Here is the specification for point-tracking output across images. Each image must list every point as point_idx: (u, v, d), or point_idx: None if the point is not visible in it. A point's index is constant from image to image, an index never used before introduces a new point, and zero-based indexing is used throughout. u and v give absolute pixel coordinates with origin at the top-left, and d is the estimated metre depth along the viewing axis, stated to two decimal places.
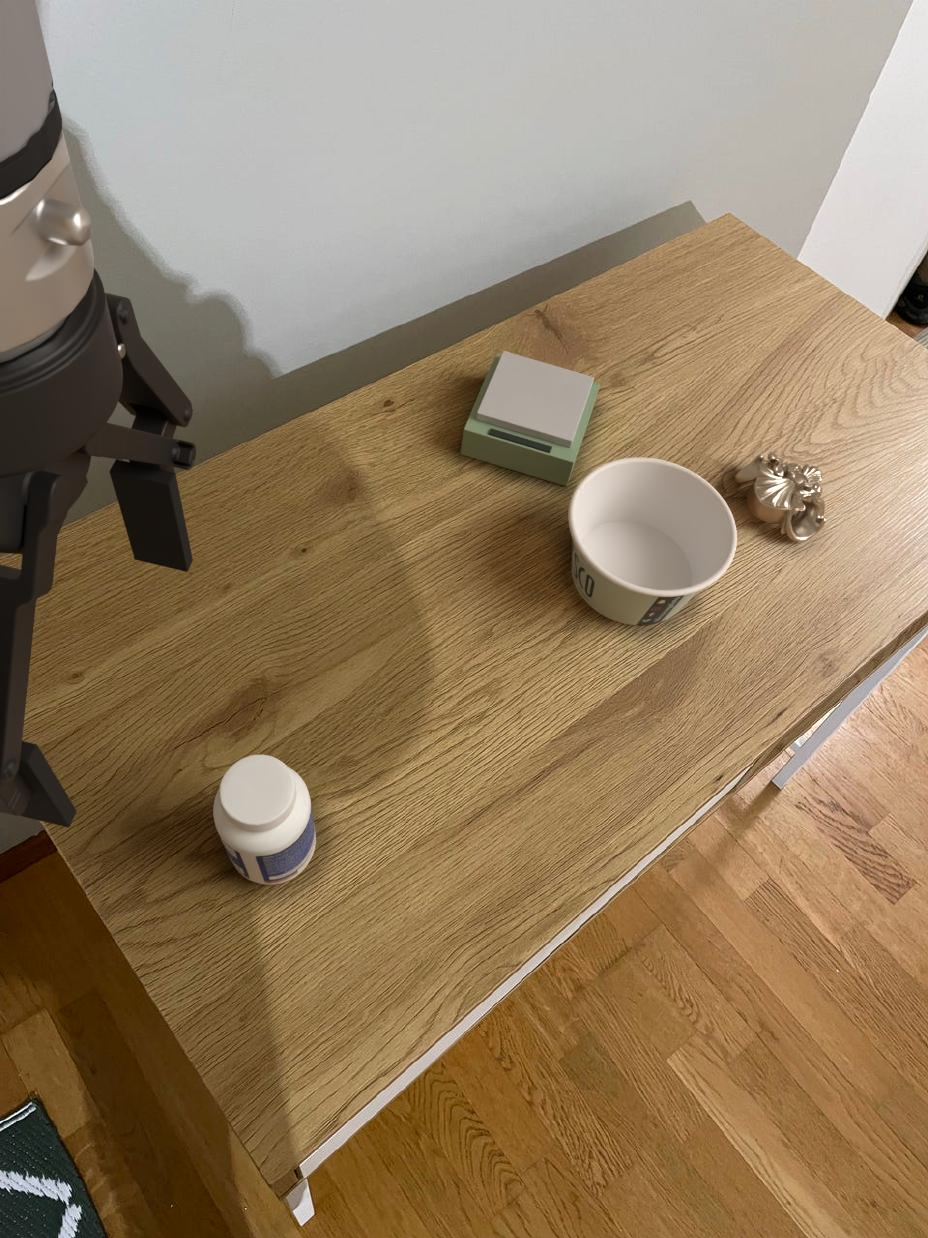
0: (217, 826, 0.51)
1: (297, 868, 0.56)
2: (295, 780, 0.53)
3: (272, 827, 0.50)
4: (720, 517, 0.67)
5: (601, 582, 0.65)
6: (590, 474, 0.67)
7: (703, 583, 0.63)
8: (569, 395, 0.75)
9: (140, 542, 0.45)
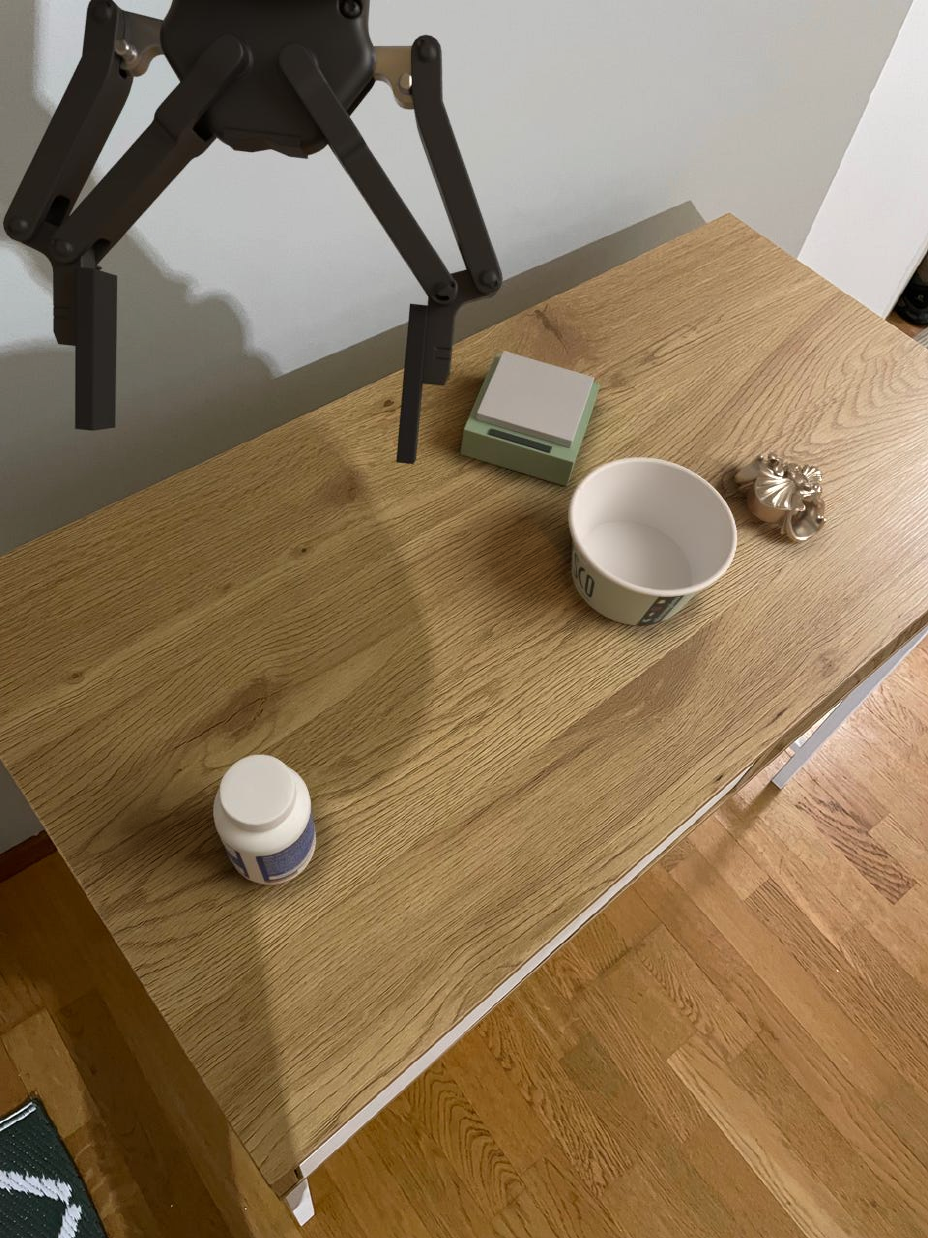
0: (217, 826, 0.51)
1: (297, 868, 0.56)
2: (295, 780, 0.53)
3: (272, 827, 0.50)
4: (720, 517, 0.67)
5: (601, 582, 0.65)
6: (590, 474, 0.67)
7: (703, 583, 0.63)
8: (569, 395, 0.75)
9: (98, 391, 0.40)
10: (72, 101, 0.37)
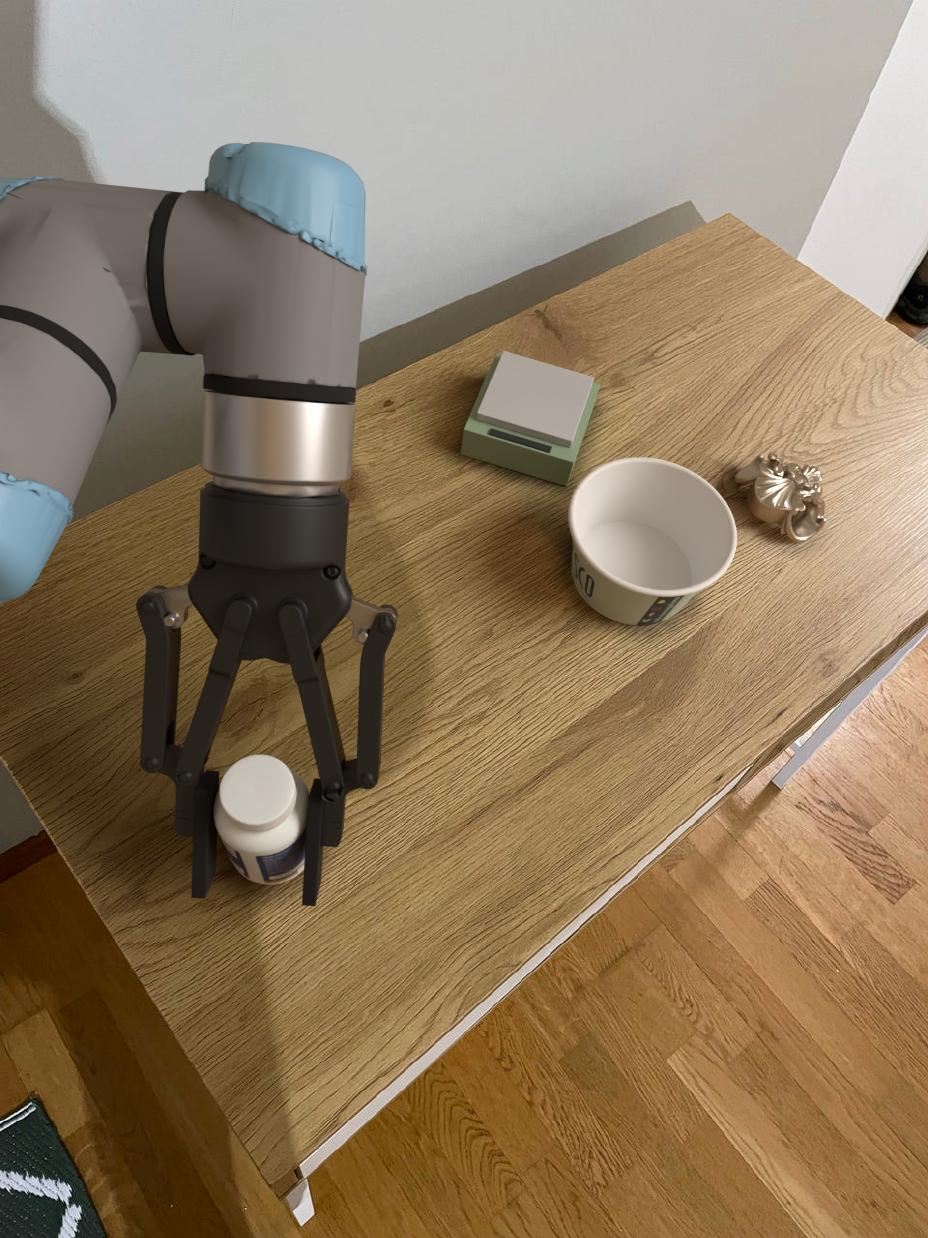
0: (217, 826, 0.51)
1: (297, 868, 0.56)
2: (295, 780, 0.53)
3: (272, 827, 0.50)
4: (720, 517, 0.67)
5: (601, 582, 0.65)
6: (590, 474, 0.67)
7: (703, 583, 0.63)
8: (569, 395, 0.75)
9: (208, 867, 0.52)
10: (152, 670, 0.49)
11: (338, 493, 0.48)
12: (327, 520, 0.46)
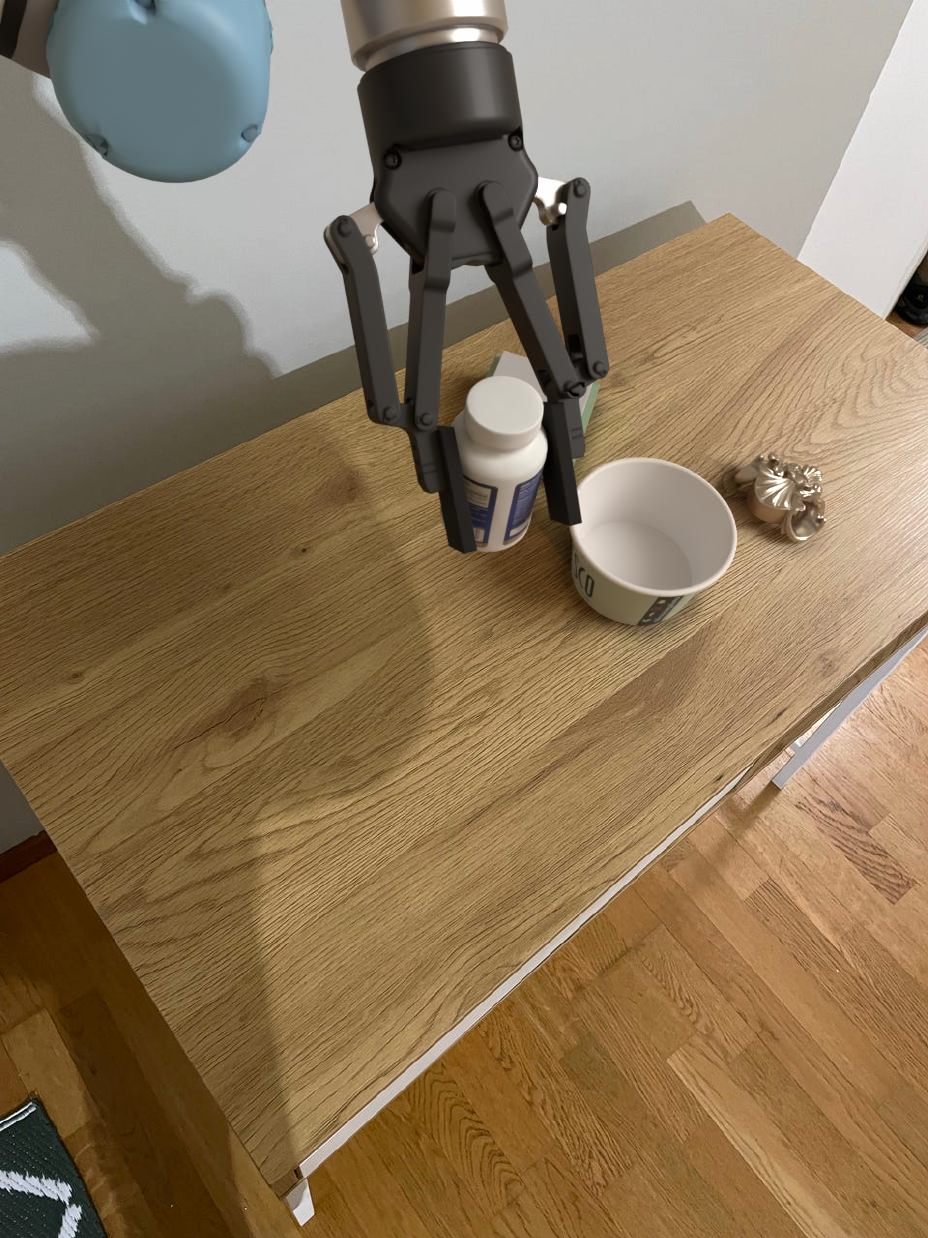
0: (469, 467, 0.48)
1: (529, 518, 0.54)
2: None
3: (533, 438, 0.48)
4: (720, 517, 0.67)
5: (601, 582, 0.65)
6: (590, 474, 0.67)
7: (703, 583, 0.63)
8: None
9: None
10: (366, 303, 0.45)
11: None
12: (511, 69, 0.43)
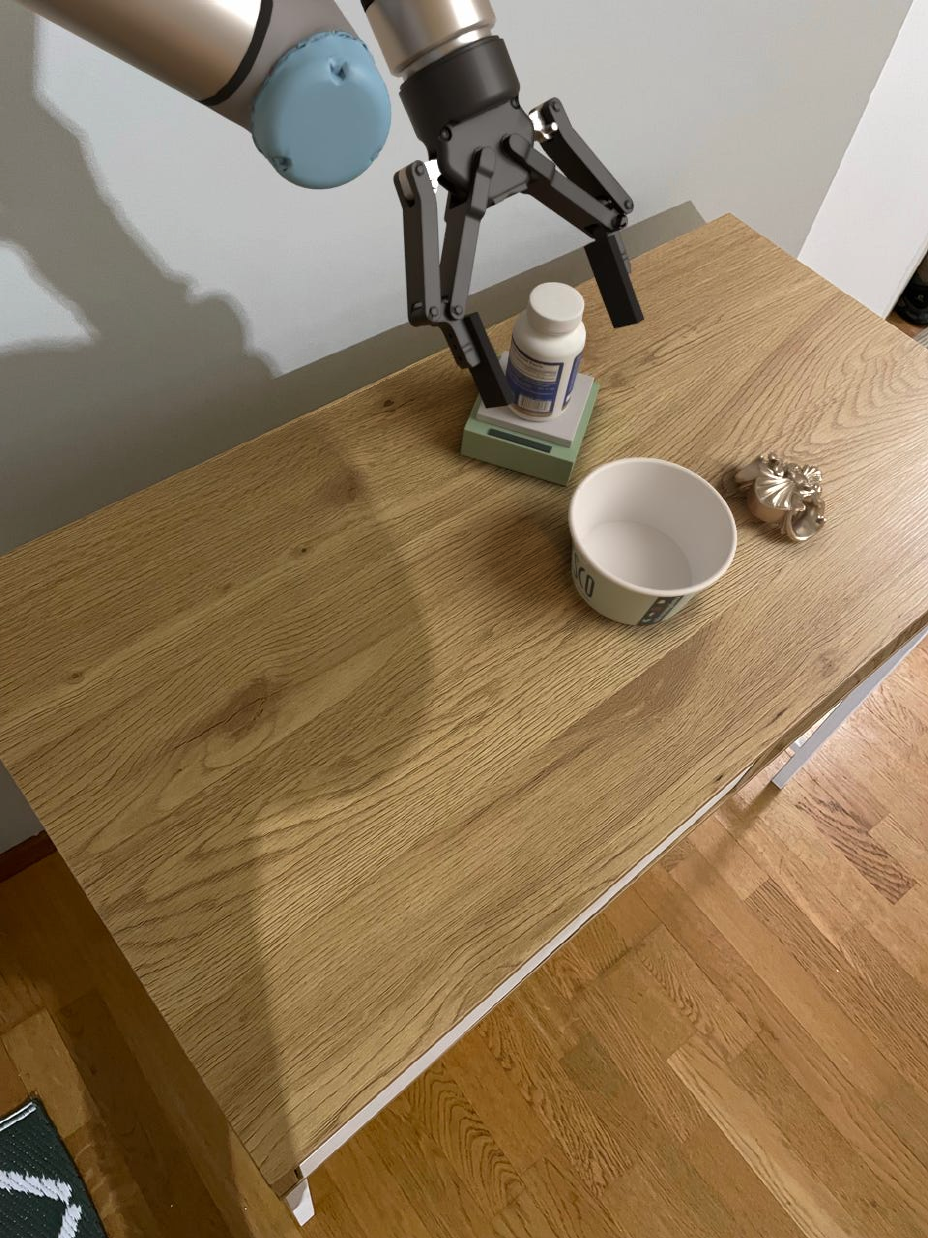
0: (542, 352, 0.67)
1: None
2: None
3: (581, 319, 0.67)
4: (720, 517, 0.67)
5: (601, 582, 0.65)
6: (590, 474, 0.67)
7: (703, 583, 0.63)
8: None
9: None
10: (427, 227, 0.60)
11: None
12: (507, 51, 0.61)
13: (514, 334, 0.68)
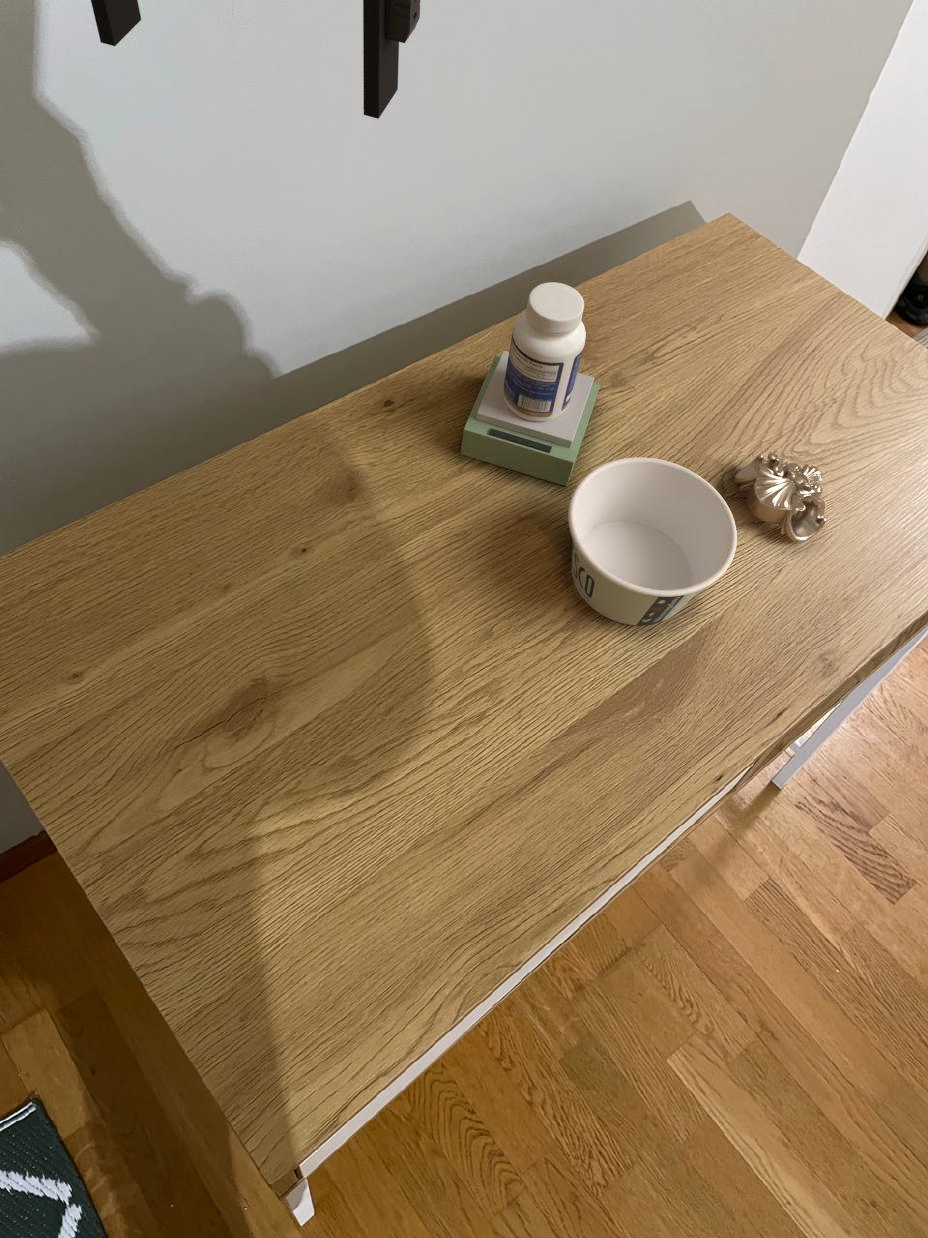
0: (542, 353, 0.67)
1: None
2: None
3: (580, 319, 0.67)
4: (720, 517, 0.67)
5: (601, 582, 0.65)
6: (590, 474, 0.67)
7: (703, 583, 0.63)
8: None
9: (112, 5, 0.44)
10: None
11: None
12: None
13: (514, 334, 0.68)
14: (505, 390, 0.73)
